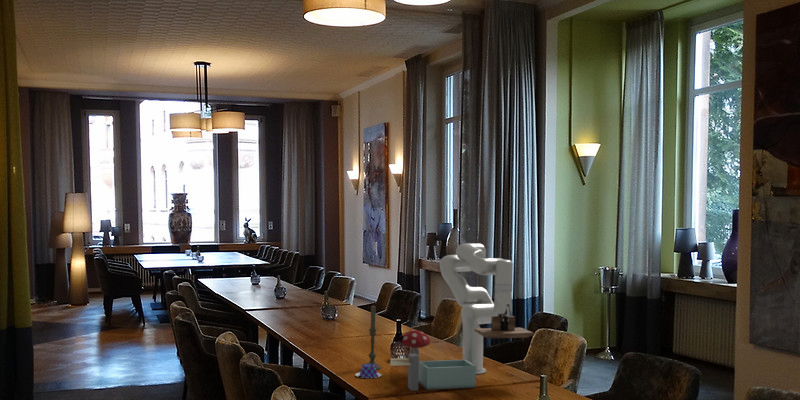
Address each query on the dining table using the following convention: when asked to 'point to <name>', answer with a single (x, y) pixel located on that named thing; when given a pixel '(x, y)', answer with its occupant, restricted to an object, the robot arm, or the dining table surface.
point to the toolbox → (440, 374)
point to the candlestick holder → (372, 334)
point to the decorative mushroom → (415, 340)
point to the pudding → (368, 371)
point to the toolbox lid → (498, 333)
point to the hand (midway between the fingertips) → (502, 329)
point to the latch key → (400, 361)
